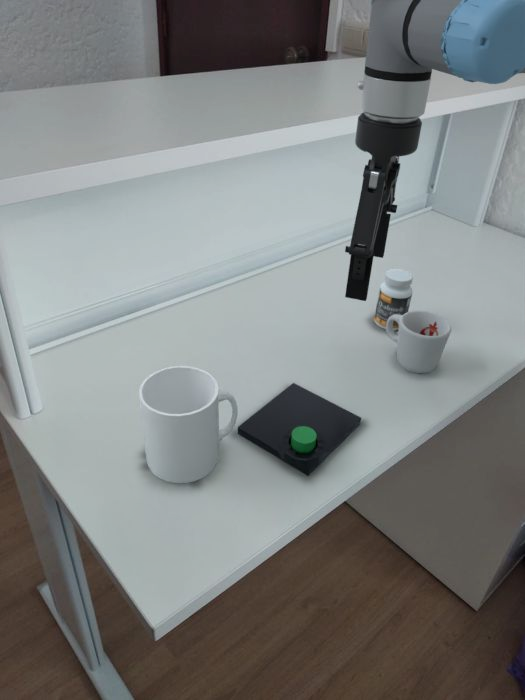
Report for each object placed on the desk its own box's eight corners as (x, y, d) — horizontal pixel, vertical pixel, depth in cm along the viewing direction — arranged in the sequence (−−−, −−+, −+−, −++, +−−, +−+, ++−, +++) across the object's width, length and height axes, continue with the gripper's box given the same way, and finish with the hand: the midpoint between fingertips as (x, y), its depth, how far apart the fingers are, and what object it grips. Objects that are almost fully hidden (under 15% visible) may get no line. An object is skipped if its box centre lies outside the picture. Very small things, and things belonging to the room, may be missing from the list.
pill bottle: (371, 328, 104) (380, 279, 98) (376, 312, 108) (384, 264, 102) (403, 334, 102) (414, 285, 97) (406, 318, 107) (417, 270, 101)
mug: (133, 452, 76) (124, 383, 70) (209, 417, 83) (208, 350, 76) (169, 498, 70) (163, 427, 64) (249, 456, 77) (251, 388, 70)
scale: (363, 426, 82) (366, 410, 81) (307, 483, 73) (309, 467, 72) (292, 389, 89) (294, 373, 87) (232, 437, 79) (232, 421, 78)
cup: (368, 353, 97) (375, 313, 92) (397, 337, 101) (405, 297, 97) (421, 385, 91) (432, 343, 86) (450, 366, 95) (461, 325, 90)
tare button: (320, 443, 75) (321, 433, 74) (306, 457, 73) (307, 447, 72) (300, 432, 77) (301, 422, 76) (285, 445, 75) (286, 435, 74)
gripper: (377, 91, 79) (356, 236, 91) (335, 137, 59) (317, 313, 72) (433, 97, 77) (404, 244, 89) (409, 146, 58) (377, 325, 70)
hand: (365, 275), depth 81 cm, fingers open, 13 cm apart
